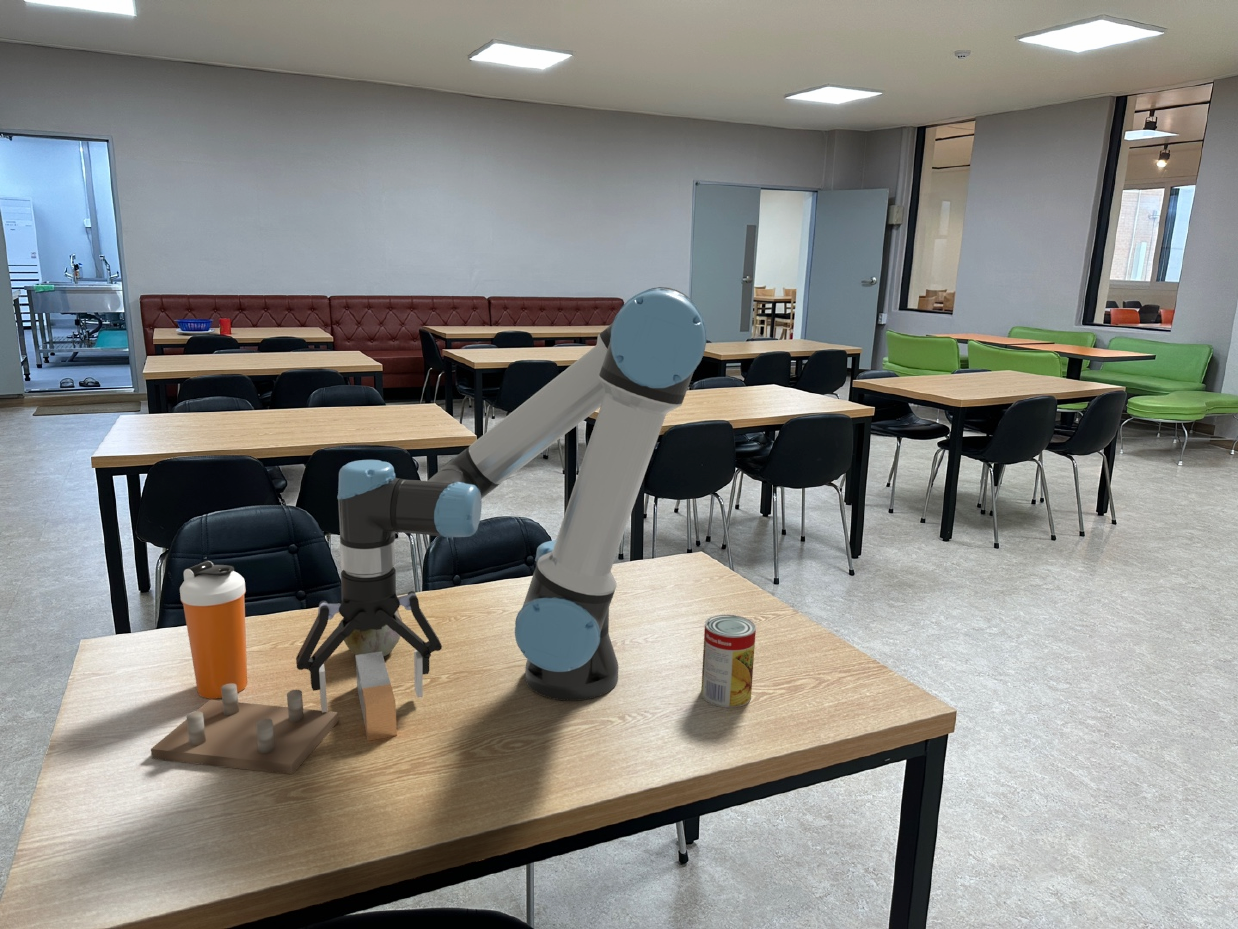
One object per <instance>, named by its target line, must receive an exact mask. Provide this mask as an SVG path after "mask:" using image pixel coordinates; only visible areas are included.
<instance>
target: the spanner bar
mask: <svg viewBox="0 0 1238 929" xmlns="http://www.w3.org/2000/svg"><path fill="white" fill-rule="evenodd" d="M354 655H355V654H354ZM354 657H355V658H354V659H355V672H356V688H357V692H358V698H359V703H360V707H361V708H360V709H361V713H362V718H363V719H362V720H363V724H364V728H365V734H366V739H367V740H366V741H367V742H369V741H370V742H371V741H374V740H381V739H386V738H391V737H395V736H398V729H397V727H398V726H397V710H396V698H395V694H394V691H393V688H392V687H393V686H392V684H391V679H390V676H389V672H388V670H387V665H386V662H385V659H384V657H383V654H382V651H381V652H374V653H367V654H360V655H355V656H354Z"/></svg>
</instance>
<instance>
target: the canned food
mask: <svg viewBox="0 0 1238 929" xmlns="http://www.w3.org/2000/svg"><path fill="white" fill-rule="evenodd" d="M756 630H757V627H756V624H755V623H754V622H753V621H752V620H751V619H749V618H746V617H743V616H740V615H735V614H716V615H713V616H710V617H709V618H707V619H706V620H705V622H704V632H703V651H702V653H703V654H702V668H701V669H702V672H701V690H700V695H701V697H702V698H703V699H704V701H706V702H707V703H709V704H711V705H714V706H717V707H721V708H727V709H730V708H731V709H733V708H740V707H742V706H743V707H744V706H746V705H747V704H748V703H750V701H751V699H752V690H753V689H752V687H753V676H754V660H755V647H756V646H755V644H756Z"/></svg>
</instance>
